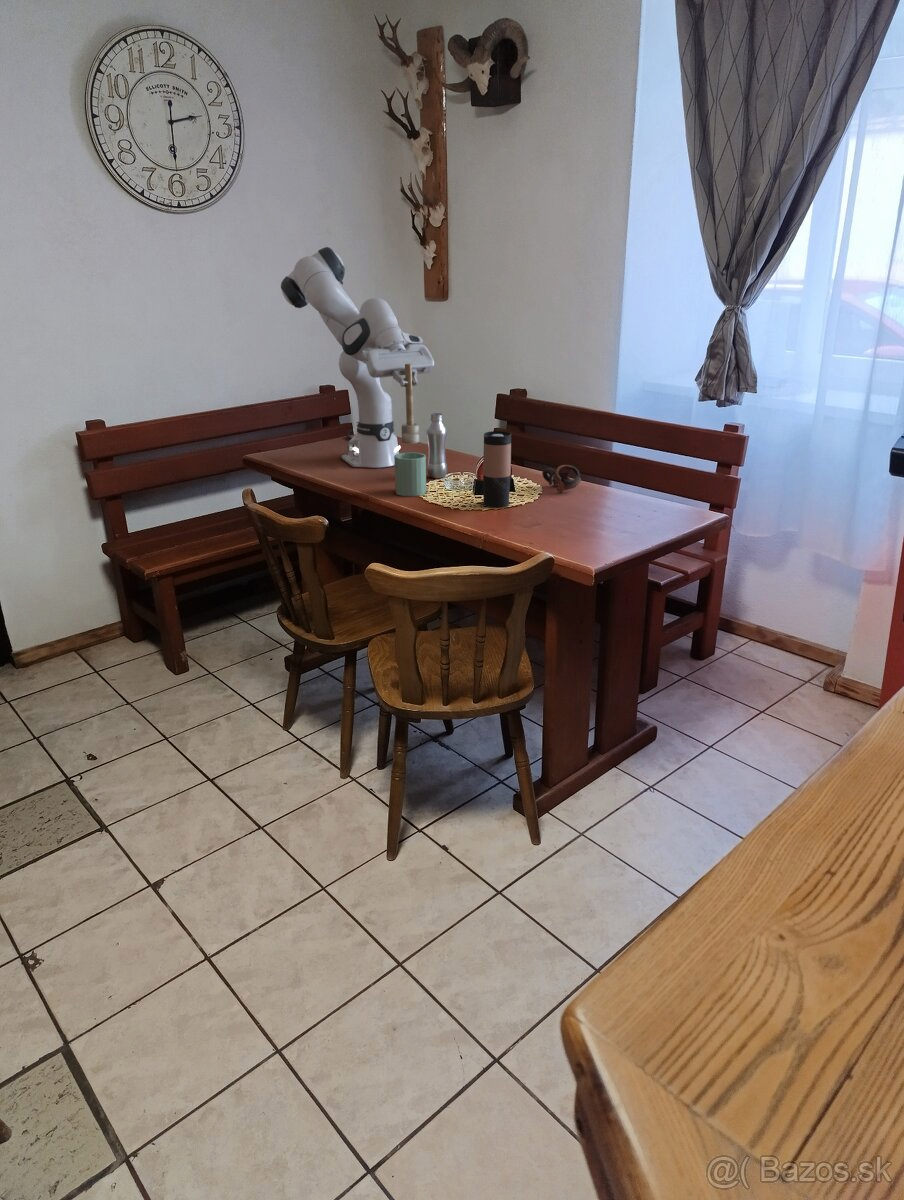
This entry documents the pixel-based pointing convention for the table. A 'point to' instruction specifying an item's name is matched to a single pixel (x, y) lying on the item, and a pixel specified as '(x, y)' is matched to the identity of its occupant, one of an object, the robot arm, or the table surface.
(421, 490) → the cup
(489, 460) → the travel mug
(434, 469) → the silver metal bottle
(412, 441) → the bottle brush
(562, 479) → the dark looped ring
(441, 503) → the table surface
